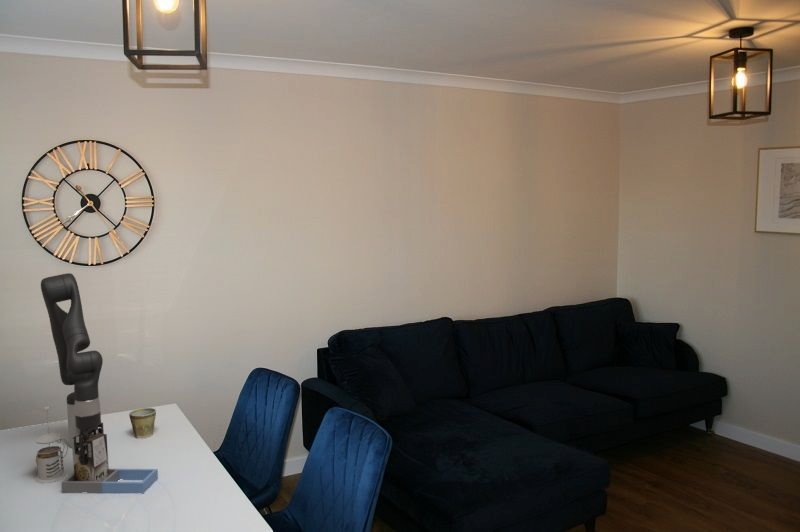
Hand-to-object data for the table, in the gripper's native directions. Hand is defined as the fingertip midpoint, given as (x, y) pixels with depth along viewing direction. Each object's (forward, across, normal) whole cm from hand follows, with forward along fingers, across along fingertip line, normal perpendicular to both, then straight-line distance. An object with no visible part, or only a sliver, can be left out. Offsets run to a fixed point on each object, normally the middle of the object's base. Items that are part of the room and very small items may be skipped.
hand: (90, 459), depth 210 cm
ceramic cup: (+9, -47, -3) cm, 48 cm away
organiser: (+9, 0, +7) cm, 11 cm away
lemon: (+9, -12, -23) cm, 28 cm away
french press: (+9, -7, -17) cm, 21 cm away
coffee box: (+8, 0, 0) cm, 8 cm away
